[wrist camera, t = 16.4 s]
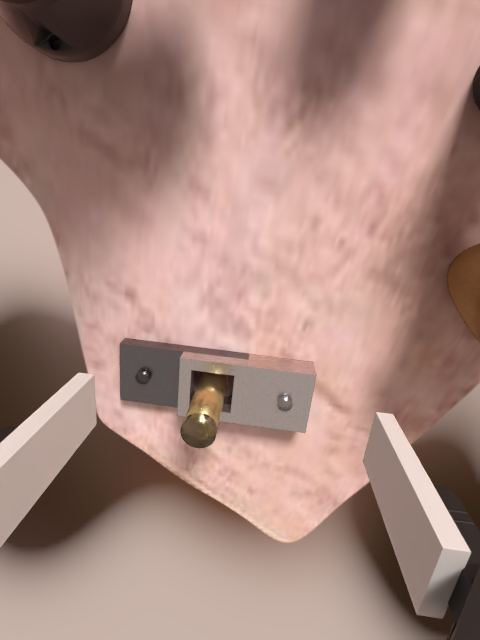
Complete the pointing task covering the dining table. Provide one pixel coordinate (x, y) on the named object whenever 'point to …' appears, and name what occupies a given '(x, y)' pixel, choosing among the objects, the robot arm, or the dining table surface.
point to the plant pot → (467, 287)
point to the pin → (205, 410)
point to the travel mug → (477, 88)
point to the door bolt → (248, 370)
